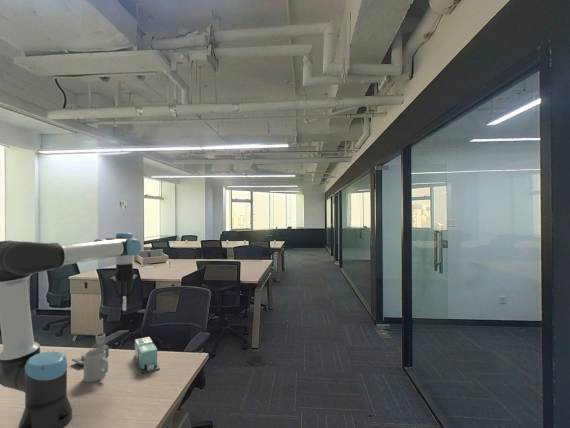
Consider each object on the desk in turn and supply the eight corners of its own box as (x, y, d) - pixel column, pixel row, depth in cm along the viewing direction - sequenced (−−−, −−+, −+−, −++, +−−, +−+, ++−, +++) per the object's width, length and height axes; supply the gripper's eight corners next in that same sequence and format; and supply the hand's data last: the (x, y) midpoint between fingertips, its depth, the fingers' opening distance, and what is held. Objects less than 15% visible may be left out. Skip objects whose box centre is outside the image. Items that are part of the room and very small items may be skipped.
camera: (111, 334, 162) (80, 344, 149) (111, 356, 162) (80, 369, 149) (102, 331, 166) (71, 341, 153) (102, 352, 166) (71, 364, 153)
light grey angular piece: (159, 369, 148) (159, 350, 148) (141, 374, 143) (141, 354, 143) (150, 352, 166) (150, 336, 166) (133, 356, 161) (133, 339, 162)
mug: (79, 380, 138) (79, 355, 138) (96, 371, 146) (96, 348, 146) (98, 385, 134) (99, 359, 134) (115, 375, 142) (115, 351, 142)
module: (157, 365, 150) (157, 348, 150) (141, 369, 146) (141, 352, 146) (153, 358, 157) (153, 343, 157) (138, 362, 153) (138, 346, 153)
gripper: (137, 261, 163) (137, 306, 163) (109, 263, 156) (109, 310, 156) (139, 263, 157) (139, 309, 157) (110, 265, 150) (110, 314, 150)
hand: (124, 309), depth 156 cm, fingers closed
